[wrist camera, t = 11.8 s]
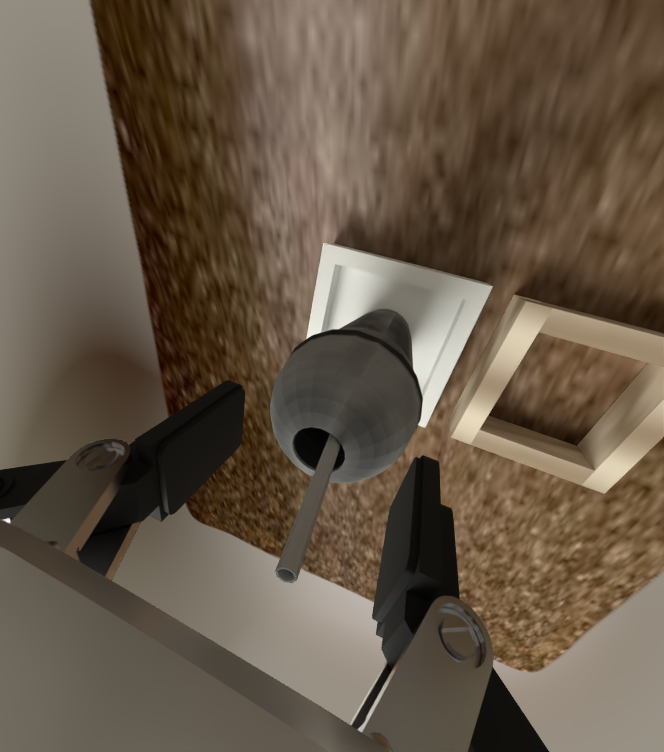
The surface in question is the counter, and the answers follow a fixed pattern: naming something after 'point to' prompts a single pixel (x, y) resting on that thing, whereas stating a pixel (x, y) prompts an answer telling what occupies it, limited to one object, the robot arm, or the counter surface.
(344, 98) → the counter surface
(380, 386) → the beverage cup
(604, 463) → the wood holder
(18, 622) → the robot arm
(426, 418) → the white tray
